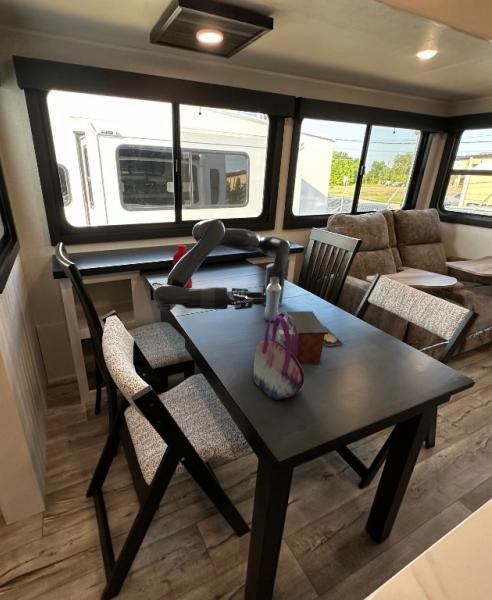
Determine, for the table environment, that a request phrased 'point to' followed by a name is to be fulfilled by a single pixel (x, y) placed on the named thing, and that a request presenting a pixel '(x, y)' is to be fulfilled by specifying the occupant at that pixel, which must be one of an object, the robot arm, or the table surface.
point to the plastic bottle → (272, 298)
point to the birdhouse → (307, 336)
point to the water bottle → (178, 256)
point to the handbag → (278, 363)
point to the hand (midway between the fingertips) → (262, 298)
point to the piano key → (282, 336)
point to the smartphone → (331, 339)
